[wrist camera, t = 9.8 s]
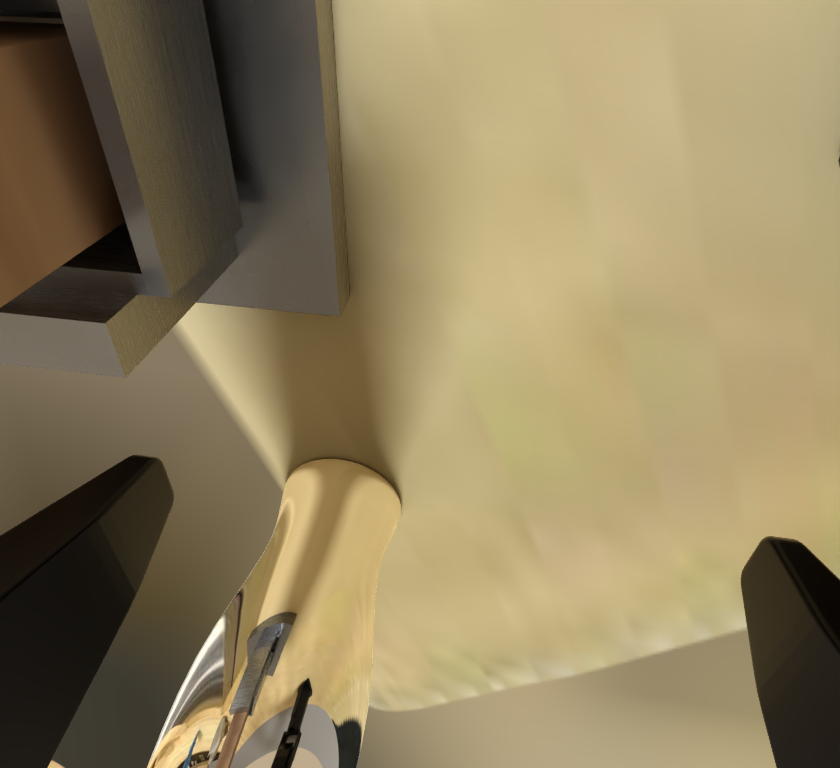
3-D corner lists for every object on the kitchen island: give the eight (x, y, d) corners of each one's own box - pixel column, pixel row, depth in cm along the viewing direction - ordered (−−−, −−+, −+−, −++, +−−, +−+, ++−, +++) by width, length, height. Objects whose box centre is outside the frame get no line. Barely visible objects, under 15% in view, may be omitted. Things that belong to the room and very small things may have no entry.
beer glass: (428, 535, 30) (364, 914, 18) (314, 546, 32) (191, 891, 20) (380, 441, 26) (261, 841, 14) (254, 461, 28) (62, 823, 17)
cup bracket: (323, -124, 14) (145, -183, 8) (349, 296, 22) (271, 451, 15) (-101, -130, 15) (-571, -185, 9) (61, 268, 23) (-129, 401, 16)
